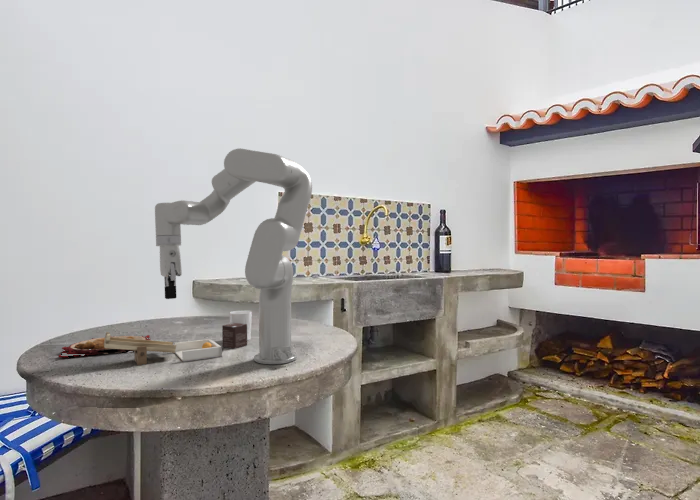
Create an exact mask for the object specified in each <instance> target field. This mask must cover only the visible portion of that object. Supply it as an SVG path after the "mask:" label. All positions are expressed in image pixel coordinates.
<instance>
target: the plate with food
mask: <svg viewBox="0 0 700 500" xmlns="http://www.w3.org/2000/svg"><path fill="white" fill-rule="evenodd" d="M110 337H115V338H128V339H140V340H152V339H151V336H150V335H149V334H147V335H146V336H143V335H142V336H139V335H121V336H120V335H119V336H118V335H117V336H115V335H113V336H112V335H111V336H110ZM146 337H147V338H150V339H147V338H146ZM104 340H105V337H97V338H93V337H92V338H91V339H86V340H81V341H79V342H74V343H72V344H70V345H69V346H63V347H61V349H62V352H60V354H59V355H58V358H69V357H68V356H61V353H67V352H68V353H67V354H85V355H87V356H93V355H101V354H103V355H106V354H107V355H109V353H108V352H105V351H107V350H108V351H109V350H111V351H112V350H114V349H111V348H105V347H104ZM89 349H91V350H89ZM63 350H65V351H63ZM99 351H102V352H99ZM126 351H134V350H126V349H117V352H115V354H116V353H118V354H119V353H122V352H126ZM85 355H84V356H85ZM73 356H74V357H81V355H80V356H79V355H73ZM85 357H86V356H85Z"/></svg>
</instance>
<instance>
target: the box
mask: <svg viewBox="0 0 700 500" xmlns="http://www.w3.org/2000/svg"><path fill="white" fill-rule="evenodd" d="M221 327H222V329H221V330H222V336H221V341H222V342H221V345H222V346H221V347H222V348H230V349H233V350H234V349H235V350H236V349H237V348H242V347H244V346H248V340H247V324H240V323H232V324H230V323H228V324H224V325H222V326H221Z"/></svg>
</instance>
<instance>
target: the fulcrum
mask: <svg viewBox="0 0 700 500" xmlns="http://www.w3.org/2000/svg"><path fill="white" fill-rule="evenodd" d="M147 352H148V351H147V347H146V346H140V347H137V350H134V352H133V353H134V358H133V359H134V361H135V362H136V365H137V366H143V365H142V364H144V365H147V363H148V359H147V358H148V357H147V356H148V354H147Z"/></svg>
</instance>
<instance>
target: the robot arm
mask: <svg viewBox="0 0 700 500" xmlns="http://www.w3.org/2000/svg"><path fill="white" fill-rule="evenodd" d="M223 168H224V169H222V170H221V171H219V172H218V173H217V174H215V175H213V177H212V178H211V187H212V188H213V191H212V192H211V193H210V194H209V195H208V196H206V197H205V198H203V199H202V200H200V201H199V202H198V201H192V200H183V199H181V200H177V201H173V202H158V203H156V204H155V205H154V223H155V246H156V247H159V267H160V268H159V270H160V275H161V276H162V277H164V279H163V280H164V299H166V300H174V299H176V298H177V284H176V283H177V277H181V276H182V274H183V273H182V261H181V260H182V259H181V252H180V251H181V250H180V247H181V246H182V230H181V225H184V226H189V225H190V226H203V225H206V224H208V223H209V222H211V221H213V220H214V219H215V218H217V217H219V216H220V215H221V214H223V212H224V211H225V210H226V208H227V207H228V206H229V204H230V202H231V200H233V198H235V197H236V196H238V195H239V194H240V193H242V192H243V191H245V190H246V189H248V188H249V187H251V185H253V184H254V183H257V182H258V183H263V184H268V185H273V186H275V187H276V186H277V187H281V188H283V189H284V193H283V195H282V196H281V197H280V200H279V201H278V205H277V209H276V213H275V216H274V218H273V217H271V218H266V219H265V220H262V222H261V223H260V224H258V226H257V227H256V229H255V232H254V233H253V238H252V241H251V244H250V248H249V252H248V255H247V259H246V262H245V266H244V267H245V269H244V276H245V278H246V281H247V282H248V284H249V286H251V287H253V288H255V289H260V290H259V291H260V292H259V296H258V331H259V332H258V337H259V339H258V345H259V353H256V354H255V355H254V356H253V361H255V363H258V364H261V365H282V364H287V363H291V362H293V361H295V360H297V353H295V352H294V351H292V289H293V281H294V268H293V264H292V262H291V260H290V259H289V258H288V257H287V256H285V255H283V253H284V252H288V251H292V250H293V249H295V248H296V246H298V243H299V240H300V237H301V232H302V229H303V225H304V223H305V219H306V216H307V212H308V207H309V204H310V202H311V197H312V194H313V184H312V183H313V182H312V179H311V176H310V174H309V173H308V171H306V169H305V168H304V167H303V166H302V165H301V164H300V163H298V162H296V161H294V160H291V159H290V158H287V157H284V156H282V155H280V154H276V153H271V152H266V151H265V152H264V151H258V150H257V151H256V150H251V149H247V148H246V149H245V148H239V147H238V148H235V149H232V150H230V151H229V152H228V153H227V154H226V155H225V158H224V159H223Z"/></svg>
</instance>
